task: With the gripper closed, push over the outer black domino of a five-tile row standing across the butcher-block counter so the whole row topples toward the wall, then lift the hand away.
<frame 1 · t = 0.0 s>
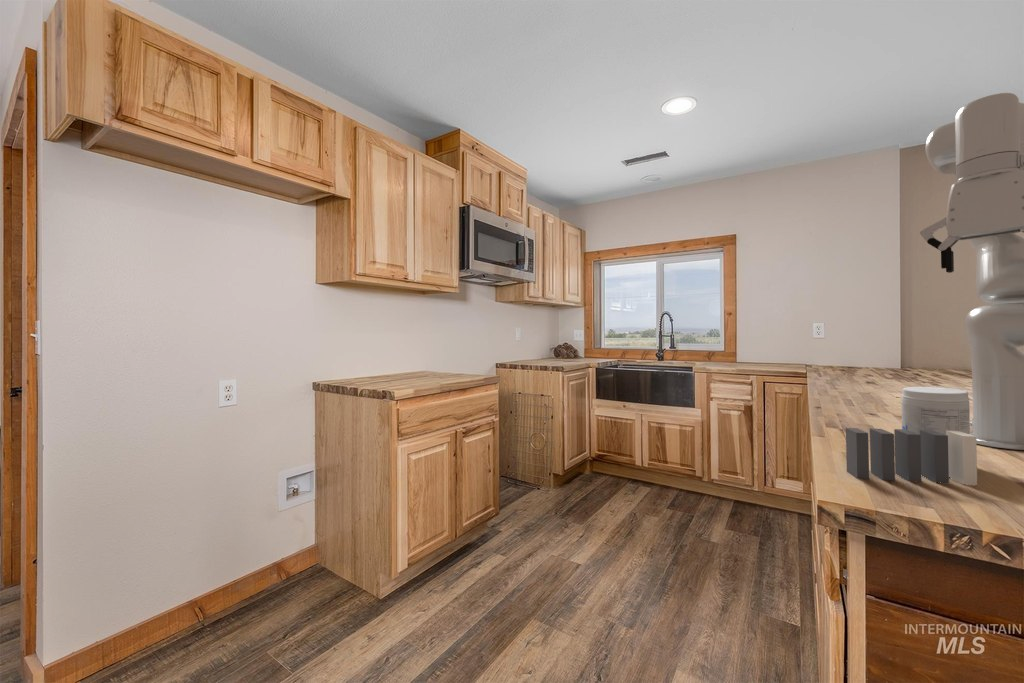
hand: (988, 268, 74), 37 cm above the countertop, tool pointing down, fingers open, 9 cm apart
domino 1: (857, 475, 78), on the countertop
domino 5: (961, 481, 74), on the countertop
domino 4: (934, 479, 75), on the countertop
supplement tub: (935, 464, 84), on the countertop
domino 2: (882, 476, 77), on the countertop
domino 3: (908, 478, 76), on the countertop
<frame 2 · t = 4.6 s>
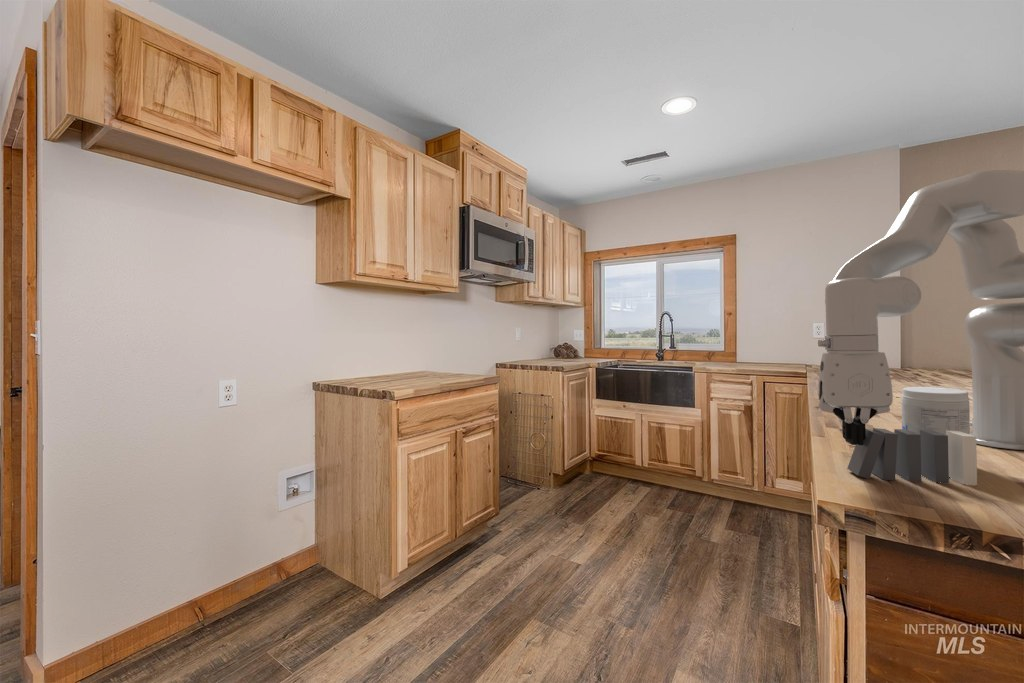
hand: (854, 443, 78), 6 cm above the countertop, tool pointing down, fingers closed
domino 1: (857, 473, 78), on the countertop, tilted 17°
everything else where it was.
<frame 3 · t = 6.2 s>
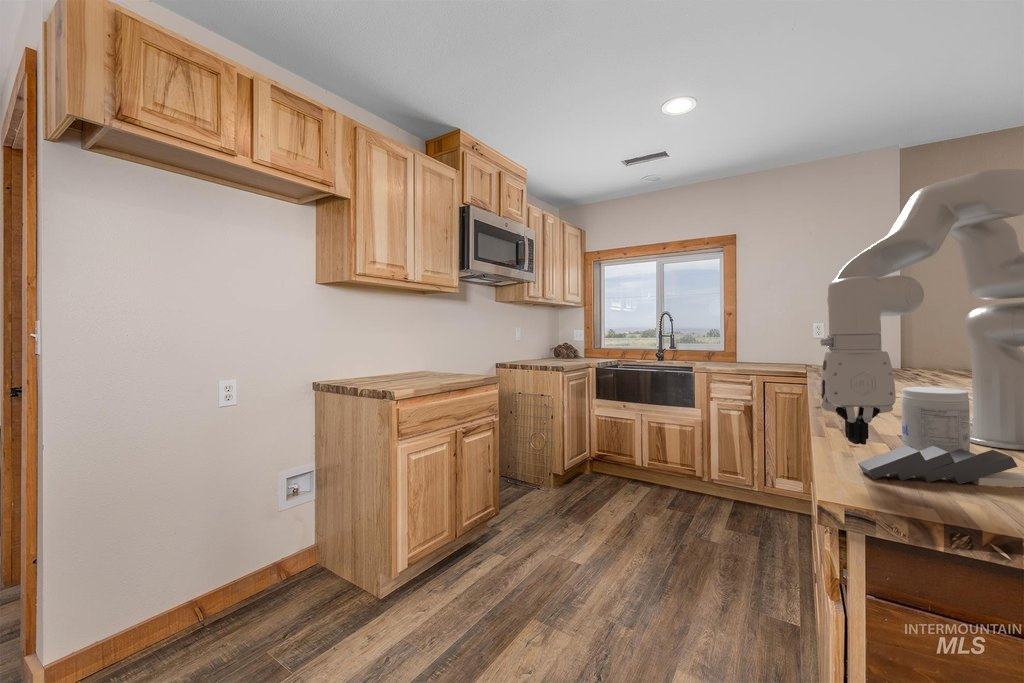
hand: (856, 442, 78), 6 cm above the countertop, tool pointing down, fingers closed
domino 1: (865, 471, 78), point 1 cm above the countertop, tilted 63°, touching domino 2
domino 5: (969, 478, 74), on the countertop, tilted 90°
domino 4: (948, 475, 74), point 1 cm above the countertop, tilted 64°
domino 2: (892, 472, 77), point 1 cm above the countertop, tilted 63°, touching domino 1, domino 3
domino 3: (918, 474, 76), point 1 cm above the countertop, tilted 64°, touching domino 2
everything else where it was.
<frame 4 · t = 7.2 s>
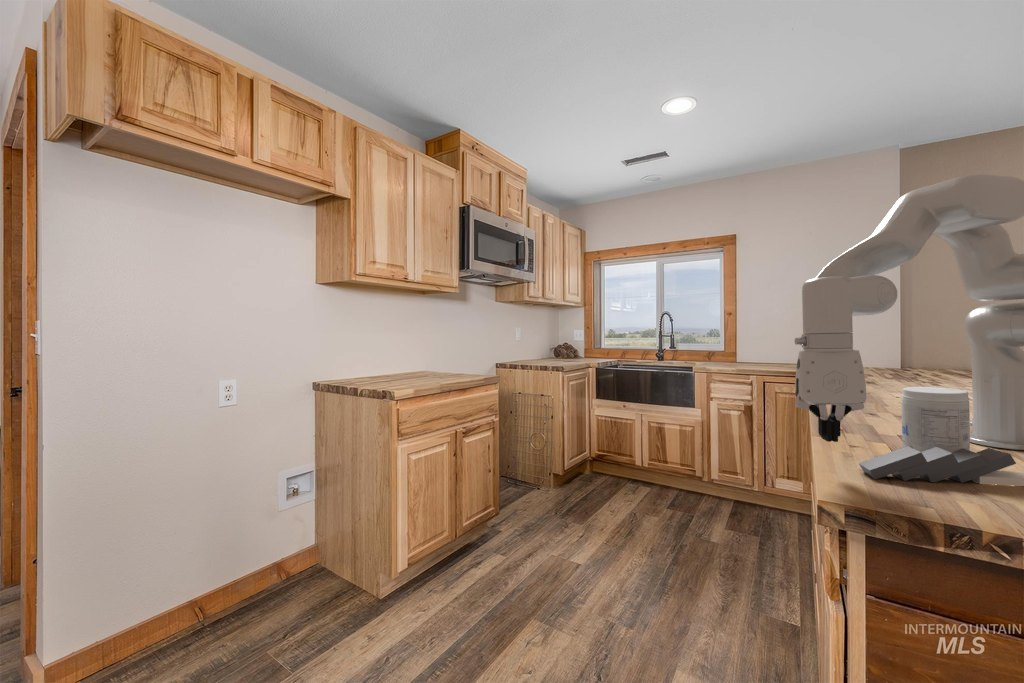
hand: (829, 439, 79), 6 cm above the countertop, tool pointing down, fingers closed
domino 4: (949, 474, 75), point 1 cm above the countertop, tilted 65°, touching domino 3
domino 3: (921, 474, 75), point 1 cm above the countertop, tilted 64°, touching domino 2, domino 4
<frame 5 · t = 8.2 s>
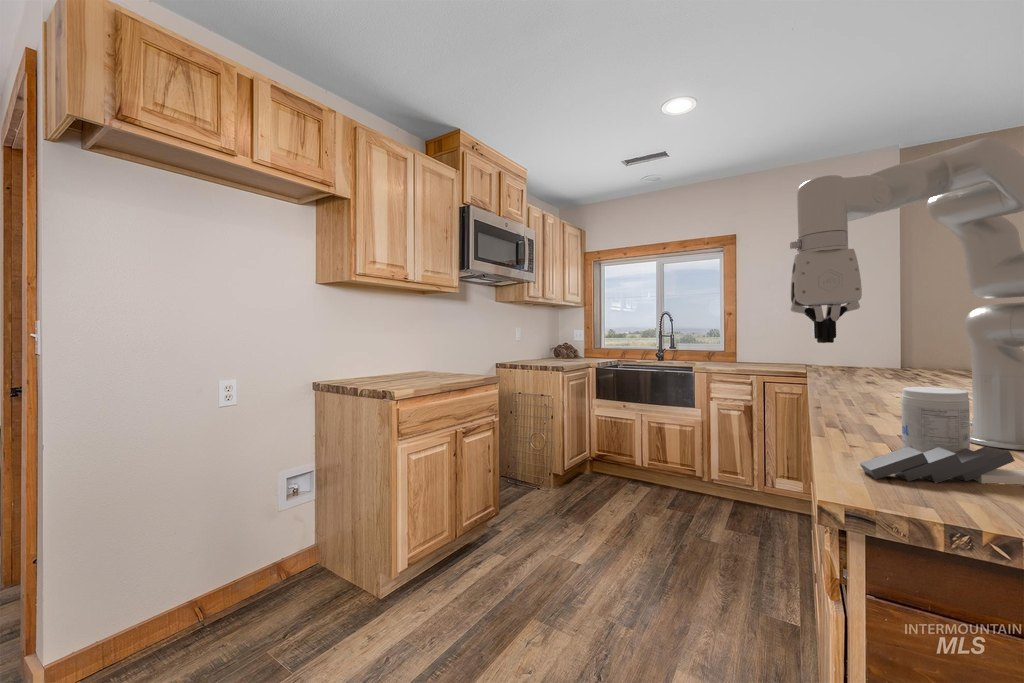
hand: (825, 342, 79), 25 cm above the countertop, tool pointing down, fingers closed
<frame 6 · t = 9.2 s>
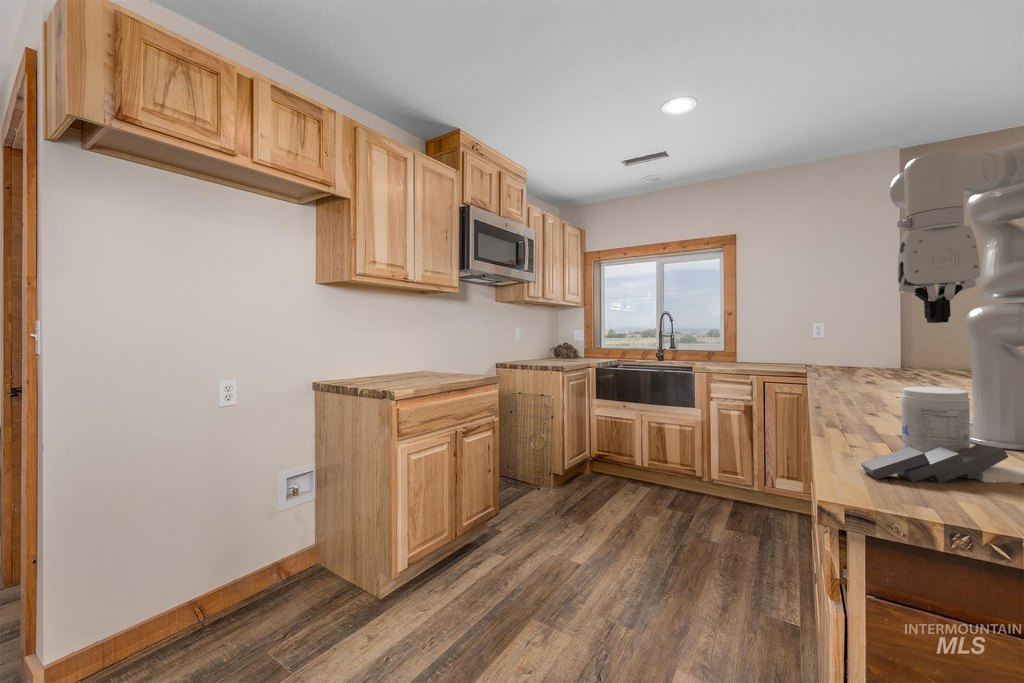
hand: (937, 322, 78), 28 cm above the countertop, tool pointing down, fingers closed
domino 1: (868, 471, 78), point 1 cm above the countertop, tilted 65°
domino 5: (973, 474, 75), point 1 cm above the countertop, tilted 90°, touching domino 4
domino 4: (953, 471, 75), point 1 cm above the countertop, tilted 67°, touching domino 3, domino 5
domino 2: (902, 473, 76), point 1 cm above the countertop, tilted 64°, touching domino 3
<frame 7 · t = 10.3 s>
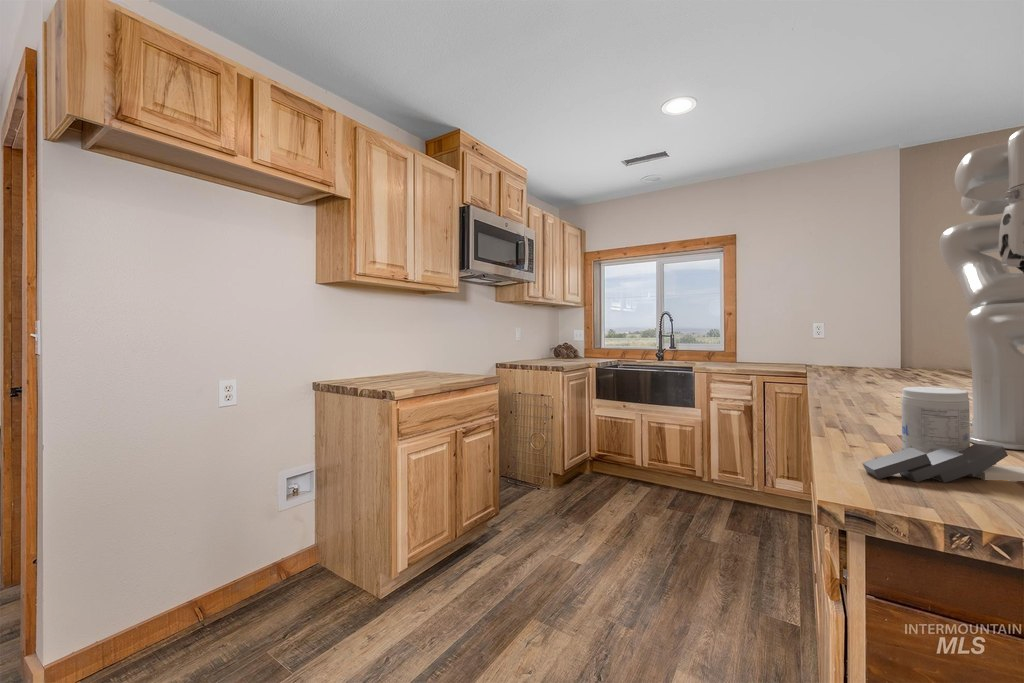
domino 1: (870, 470, 78), point 1 cm above the countertop, tilted 66°, touching domino 2
domino 5: (974, 473, 76), on the countertop, tilted 90°, touching domino 4
domino 4: (957, 470, 76), point 1 cm above the countertop, tilted 67°, touching domino 5
domino 2: (905, 473, 76), point 1 cm above the countertop, tilted 65°, touching domino 1, domino 3
domino 3: (932, 474, 75), point 1 cm above the countertop, tilted 66°, touching domino 2
everything else where it was.
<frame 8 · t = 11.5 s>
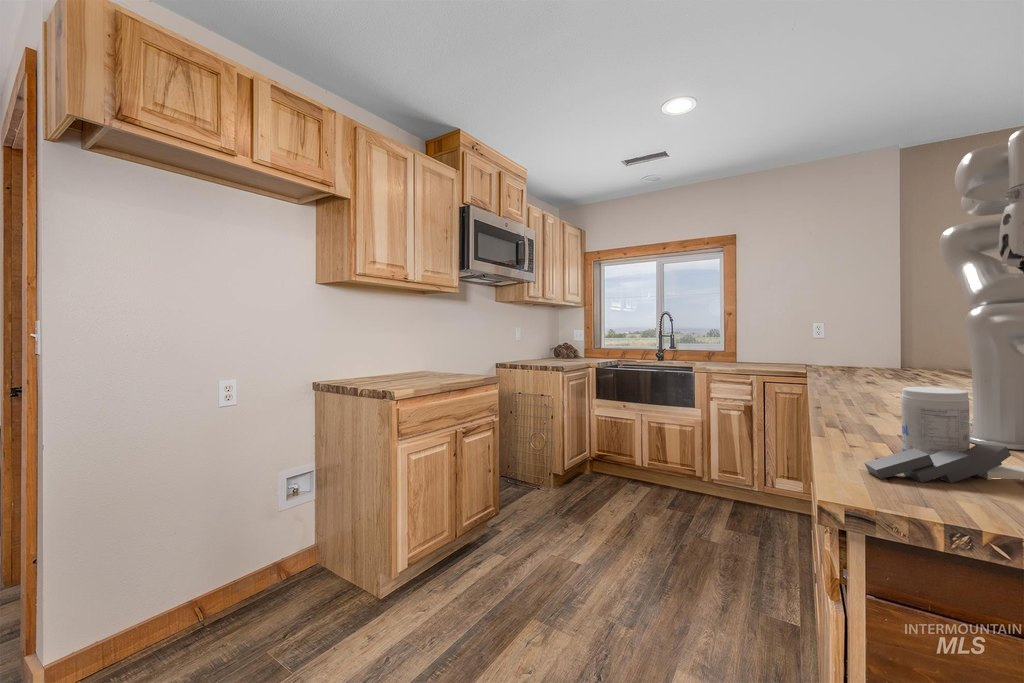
domino 5: (976, 473, 76), on the countertop, tilted 90°
domino 4: (962, 470, 76), point 1 cm above the countertop, tilted 69°, touching domino 3
domino 2: (910, 474, 76), point 1 cm above the countertop, tilted 67°, touching domino 1, domino 3
domino 3: (938, 474, 75), point 1 cm above the countertop, tilted 67°, touching domino 2, domino 4
everything else where it was.
at the end: domino 5 tilted 90°; domino 3 tilted 67°; domino 1 tilted 68° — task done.
